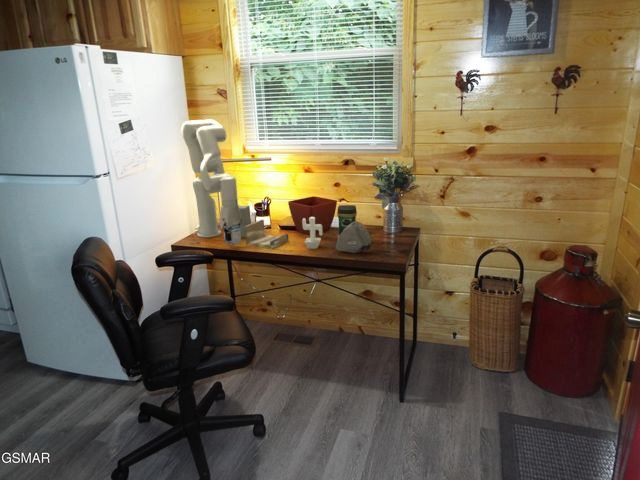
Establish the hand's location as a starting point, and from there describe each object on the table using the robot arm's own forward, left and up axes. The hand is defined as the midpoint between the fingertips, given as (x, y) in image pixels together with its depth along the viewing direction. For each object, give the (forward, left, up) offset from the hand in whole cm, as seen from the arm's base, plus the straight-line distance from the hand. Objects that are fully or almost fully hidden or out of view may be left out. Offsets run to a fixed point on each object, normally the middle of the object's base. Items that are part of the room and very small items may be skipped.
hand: (232, 238), depth 228 cm
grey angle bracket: (+11, +14, -5) cm, 18 cm away
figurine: (+36, +17, -5) cm, 40 cm away
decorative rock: (+57, +18, -5) cm, 60 cm away
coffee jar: (+47, +32, -5) cm, 57 cm away
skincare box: (-8, +19, -5) cm, 21 cm away
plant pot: (+22, +41, -5) cm, 46 cm away
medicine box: (0, 0, -2) cm, 2 cm away
